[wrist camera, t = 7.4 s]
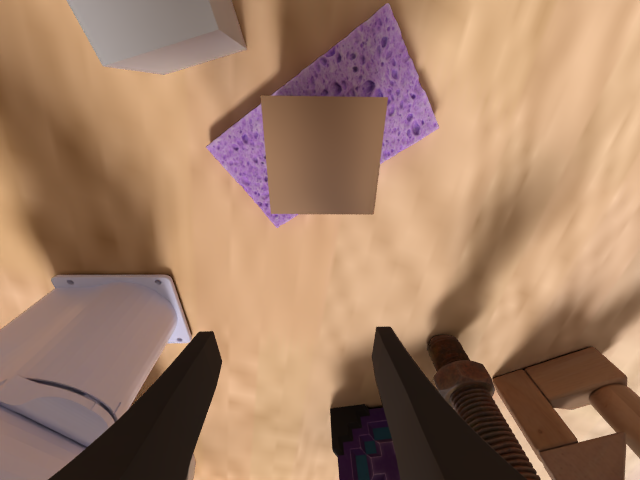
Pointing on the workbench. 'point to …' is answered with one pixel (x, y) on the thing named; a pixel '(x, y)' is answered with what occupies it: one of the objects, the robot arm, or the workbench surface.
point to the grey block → (159, 32)
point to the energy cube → (363, 444)
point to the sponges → (346, 81)
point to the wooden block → (570, 393)
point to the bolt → (475, 400)
